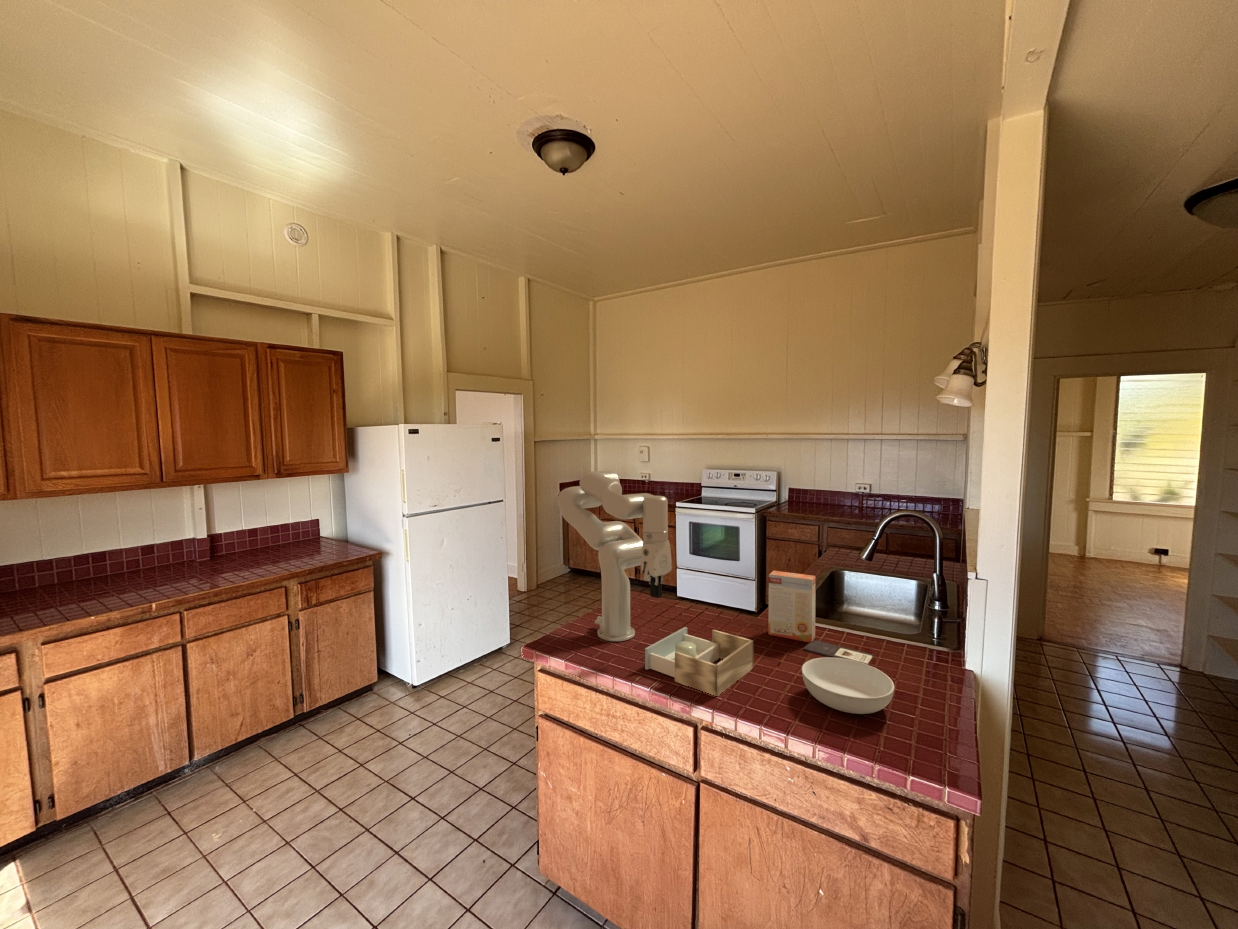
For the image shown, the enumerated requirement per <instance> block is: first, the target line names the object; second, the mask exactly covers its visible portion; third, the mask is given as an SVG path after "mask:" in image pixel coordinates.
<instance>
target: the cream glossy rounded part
mask: <svg viewBox="0 0 1238 929" xmlns="http://www.w3.org/2000/svg"><path fill="white" fill-rule="evenodd" d="M675 652H679V653H682V654H685V655H689V656H692V657H696V645H695V644H694V643H692V642H687V641H682V642H678V643H676V644H675Z"/></svg>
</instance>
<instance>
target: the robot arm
mask: <svg viewBox="0 0 1238 929" xmlns="http://www.w3.org/2000/svg"><path fill="white" fill-rule="evenodd" d="M620 482H621V481H620V478H619V476H618V474H617V473H616V472H614V471H612V470H599V471H598V470H597V471H594V470H593V471H589V472H588V471H587V472H586V473H585V474H583V475H582V476H581V478H580V479H579V485H577V486H570V487H565V488H564V489H562V490H560V492H559V494H558V496H557V505H558V509H559V511H560V512H559V513H560V514H561V516H562V517H563V519H564V520H565V521H566V522H567V523H568V524H569V525H570V526H571V527H573V529H575V530H576V531H577V532H578V533H579V535H580V536H581V537H582V538H583V540H584V541H585V542H586V543H587V544H588V545H589V546H590V548H592V549H594V550H596V551H598V562H599V568H600V574H601V575H600V576H601V616H600V615H599V616H597V617H596V619H595V620H594V624H596V625H599V629H598V630H597V636H598V638H600V639H602V640H604V641H608V642H624V641H627V640H630V639H632V638H634V637H635V634H636V631H635V629H634V628H633V627H632V626H631V582H630V579H629V576H628V575H627V573H626V572H625V570H626V569H630V568H635V567H637V566H638V567H639V566H640V569H641V574H642V575H643V581H645V582H648V584H649V585H650V586H649V587H650V588H649V589H650V590H649V591H650V593H649V596H650V597H651V598H656V599H660V598H662V596H663V583H664V577H665V576H666V575H667V574H668V573H670V572H672V568H673V566H672V565H673V564H672V562H673V561H672V552H671V545H670V540H669V532H668V531H669V527H668V526H669V516H668V515H669V511H668V510H669V509H668V508H669V507H668V504H669V503H668V502H669V501H668V498H667V497H666V496H663V495H653V494H651V493H647V492H644V493H643V492H642V493H629V494H623V489H622V488H623V487H622V485H621V483H620ZM600 506H602V507H603V510H604V511H605V512H606V513H607V514H609V515H611V516H613V517H614V518H616V519H619V520H613V521H602V520H601V519H600V518H598V517H597V515H595V514H594V513H592V512H591V511H590V510H587V509H591V508H597V507H600ZM638 518H639V519H641V518H642V538H641V537H640V536H639V535H638V534H637V533H636V532H635V531H634V530H633V529H632V528H631V527H630V526H629V525H628V524H626V523H625V522H623V521H621V520H630V519H638Z"/></svg>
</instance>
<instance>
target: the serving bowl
mask: <svg viewBox="0 0 1238 929" xmlns="http://www.w3.org/2000/svg"><path fill="white" fill-rule="evenodd" d="M801 676H802V680H803V683H804V686H805V687H806V689H807V691H808V692H809V693H810V695H812V696H813V698H815V699H816V700H818V702H820V703H822V704H823V705H826V706H827V707H829V708H831V709H835V710H836V711H837V710H838V711H840V712H844V713H848V714H849V713H850V714H856V715H858V714H859V715H866V714H867V715H868V714H874V713H876V712H879V711H882V709H885V708H886V707H887V706H888V705H889V704H890V703H891V701H892V699H893V696H894V692H895V683H894V682H893V680H892V679H891V678H890V677H889V675H887V674H886V673H884V671H882V670H880V669H878V668H876V667H874V666H871V665H869V664H868V665H867V664H864V663H861V662H857V661H853V660H849V659H843V658H832V657H827V656H825V657H817V658H812V659H809V660H807V661H806V662H805V663H803V664H802V666H801Z"/></svg>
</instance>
